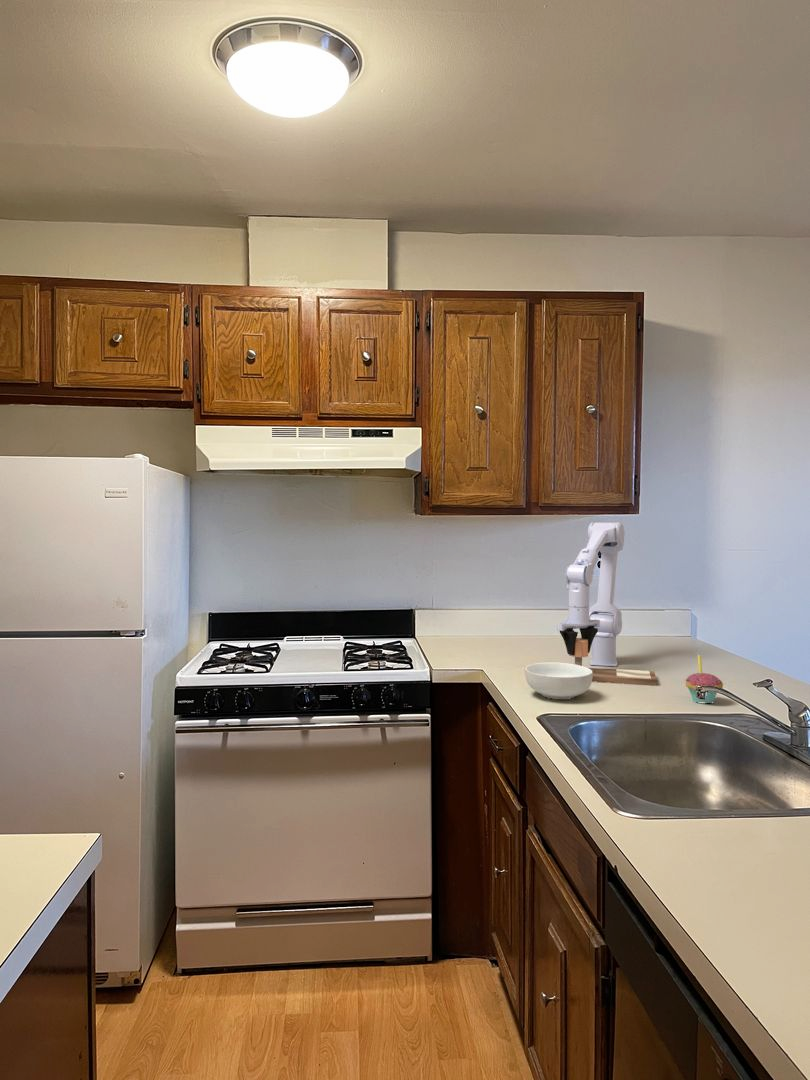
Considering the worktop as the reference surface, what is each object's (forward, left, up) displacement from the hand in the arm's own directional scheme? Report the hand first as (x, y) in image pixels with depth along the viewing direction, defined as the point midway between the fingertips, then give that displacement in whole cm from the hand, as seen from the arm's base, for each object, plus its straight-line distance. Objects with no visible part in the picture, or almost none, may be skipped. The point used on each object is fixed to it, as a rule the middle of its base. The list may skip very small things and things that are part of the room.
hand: (578, 653), depth 205 cm
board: (0, +7, -7) cm, 10 cm away
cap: (0, 0, 0) cm, 0 cm away
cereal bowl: (+24, -4, -7) cm, 25 cm away
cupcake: (+20, +31, -7) cm, 38 cm away
